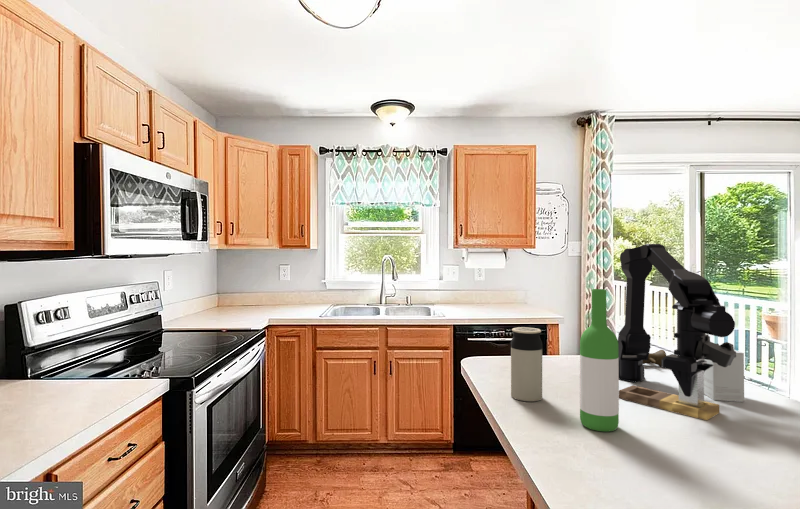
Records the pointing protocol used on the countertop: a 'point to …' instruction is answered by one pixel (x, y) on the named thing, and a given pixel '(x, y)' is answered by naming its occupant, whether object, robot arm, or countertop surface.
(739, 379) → the supplement box
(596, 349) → the wine bottle
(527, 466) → the countertop surface
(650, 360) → the kendama
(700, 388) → the peg
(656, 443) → the countertop surface
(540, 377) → the travel mug
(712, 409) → the wooden slotted board
